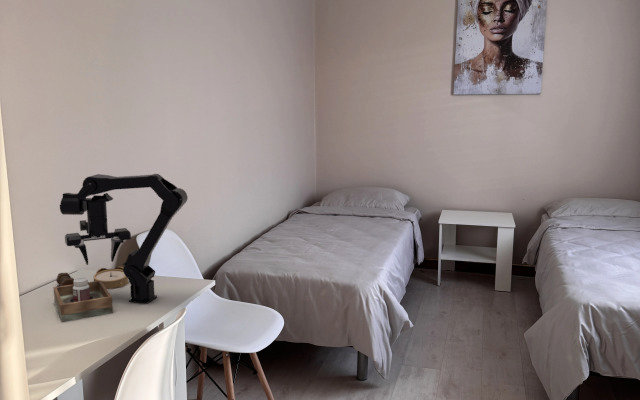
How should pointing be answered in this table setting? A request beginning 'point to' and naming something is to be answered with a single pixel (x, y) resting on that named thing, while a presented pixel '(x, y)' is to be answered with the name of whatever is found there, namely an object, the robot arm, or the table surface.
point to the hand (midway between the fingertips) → (99, 263)
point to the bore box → (82, 302)
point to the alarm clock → (111, 277)
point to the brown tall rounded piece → (64, 279)
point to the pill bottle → (81, 290)
